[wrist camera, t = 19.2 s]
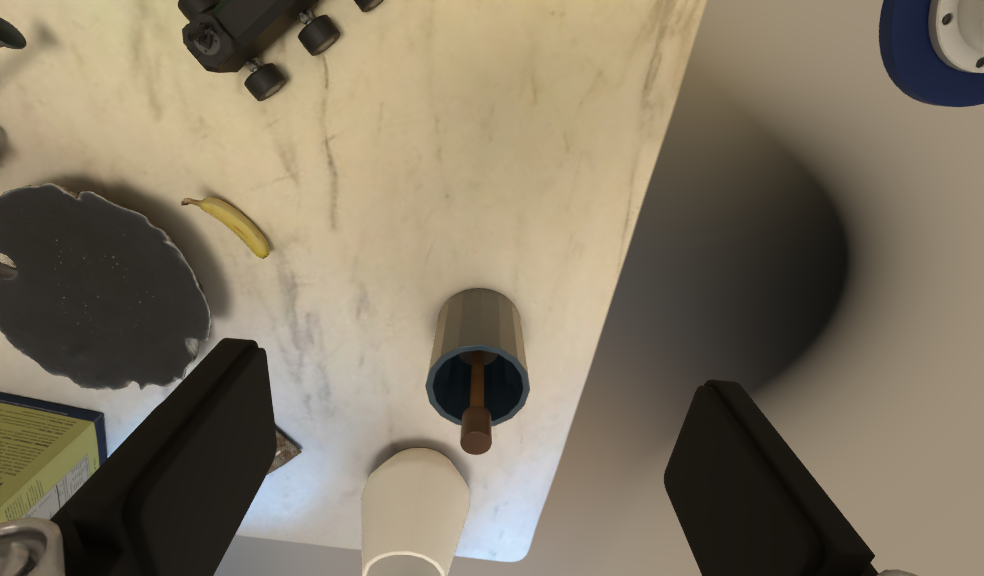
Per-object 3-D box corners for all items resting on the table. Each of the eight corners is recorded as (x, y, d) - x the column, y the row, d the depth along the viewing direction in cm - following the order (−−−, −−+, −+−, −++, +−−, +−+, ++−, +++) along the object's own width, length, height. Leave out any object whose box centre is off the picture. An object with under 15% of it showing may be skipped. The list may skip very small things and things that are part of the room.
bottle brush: (506, 324, 51) (516, 438, 35) (483, 351, 52) (482, 472, 37) (473, 303, 49) (469, 412, 34) (450, 332, 51) (436, 448, 36)
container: (537, 317, 51) (550, 379, 41) (488, 372, 54) (488, 442, 44) (469, 272, 48) (465, 326, 39) (421, 333, 52) (406, 397, 42)
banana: (200, 195, 44) (175, 206, 41) (211, 183, 44) (186, 194, 40) (269, 254, 47) (252, 270, 44) (280, 243, 47) (263, 259, 43)
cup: (365, 502, 63) (336, 610, 51) (373, 428, 58) (342, 530, 45) (462, 513, 65) (457, 621, 52) (479, 442, 59) (477, 545, 46)
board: (-35, 255, 47) (-92, 277, 42) (96, 124, 41) (48, 132, 37) (150, 395, 55) (119, 425, 50) (279, 300, 50) (258, 324, 45)
